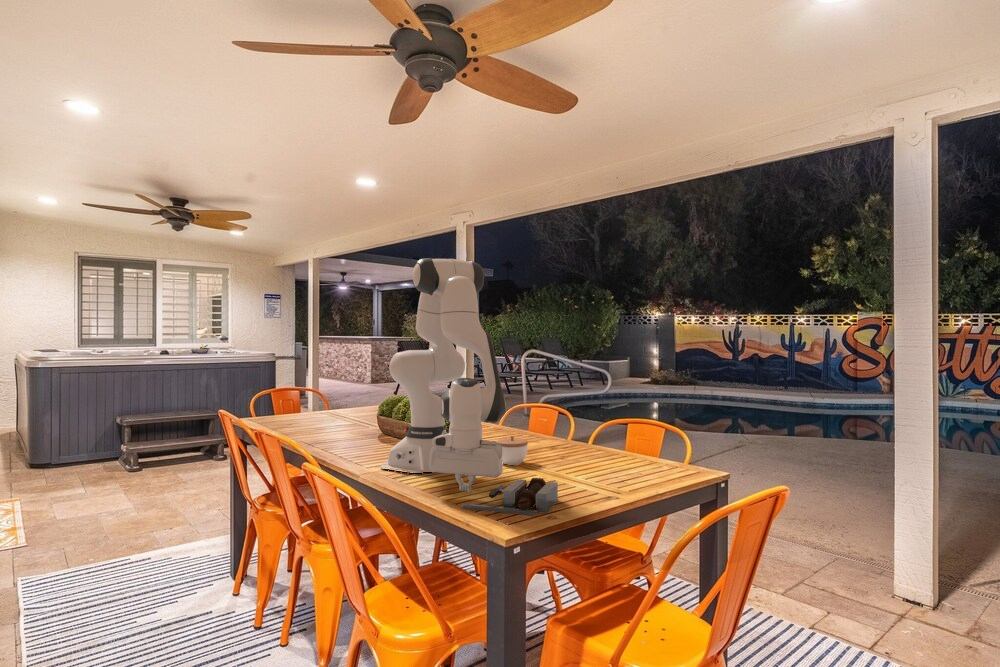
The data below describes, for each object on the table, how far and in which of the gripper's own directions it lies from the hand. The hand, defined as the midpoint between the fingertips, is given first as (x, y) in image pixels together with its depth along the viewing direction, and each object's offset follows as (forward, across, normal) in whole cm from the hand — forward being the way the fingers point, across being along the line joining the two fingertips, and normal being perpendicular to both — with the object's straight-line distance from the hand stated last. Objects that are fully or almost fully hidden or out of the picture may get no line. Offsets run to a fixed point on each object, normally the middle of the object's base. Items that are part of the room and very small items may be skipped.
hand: (465, 490), depth 151 cm
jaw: (+2, -12, 0) cm, 12 cm away
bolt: (+2, -18, -1) cm, 18 cm away
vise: (+2, -13, +2) cm, 14 cm away
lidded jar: (+2, +1, -44) cm, 44 cm away
